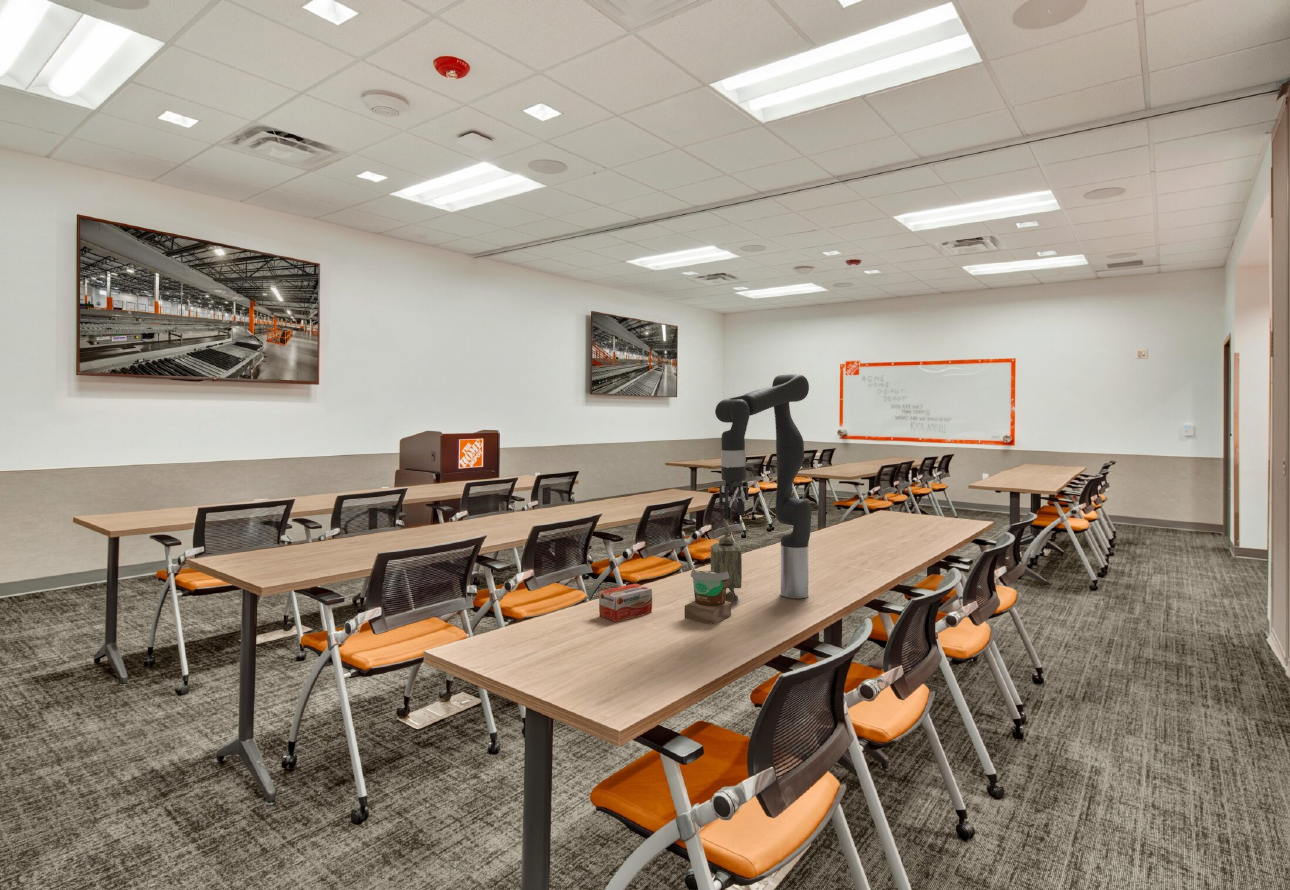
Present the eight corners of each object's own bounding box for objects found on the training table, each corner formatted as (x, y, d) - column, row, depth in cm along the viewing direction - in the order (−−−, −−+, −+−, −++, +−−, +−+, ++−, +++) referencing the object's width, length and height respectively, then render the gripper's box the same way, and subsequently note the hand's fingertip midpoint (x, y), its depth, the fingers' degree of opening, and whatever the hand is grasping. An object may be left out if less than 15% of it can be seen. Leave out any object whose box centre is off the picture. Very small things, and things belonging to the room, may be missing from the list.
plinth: (703, 609, 206) (703, 596, 206) (731, 615, 200) (731, 601, 200) (684, 618, 197) (684, 604, 197) (713, 624, 191) (713, 610, 191)
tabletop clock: (741, 601, 215) (741, 526, 214) (714, 602, 215) (714, 526, 214) (736, 590, 230) (736, 520, 229) (710, 590, 230) (710, 520, 229)
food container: (683, 603, 198) (683, 571, 198) (692, 598, 203) (692, 567, 203) (721, 609, 192) (721, 575, 192) (729, 604, 197) (729, 571, 197)
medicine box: (615, 623, 194) (614, 596, 194) (598, 617, 200) (598, 591, 200) (653, 612, 204) (652, 587, 204) (636, 607, 210) (636, 582, 210)
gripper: (733, 462, 207) (734, 513, 208) (711, 466, 196) (712, 519, 197) (755, 463, 203) (756, 514, 204) (733, 467, 191) (734, 521, 192)
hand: (734, 517), depth 200 cm, fingers open, 8 cm apart
